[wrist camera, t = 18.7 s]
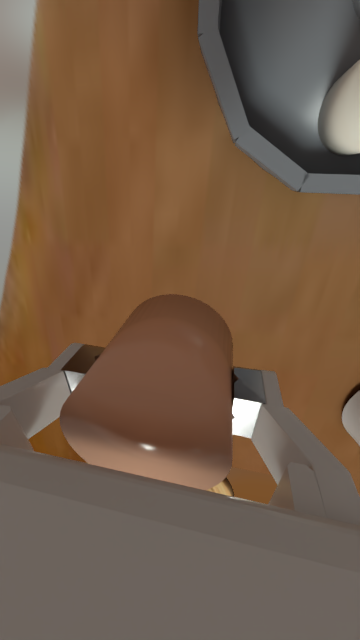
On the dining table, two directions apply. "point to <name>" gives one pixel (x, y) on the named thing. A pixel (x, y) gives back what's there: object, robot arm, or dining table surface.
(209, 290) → the dining table surface
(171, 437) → the brown egg
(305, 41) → the groove tray
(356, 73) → the white egg
